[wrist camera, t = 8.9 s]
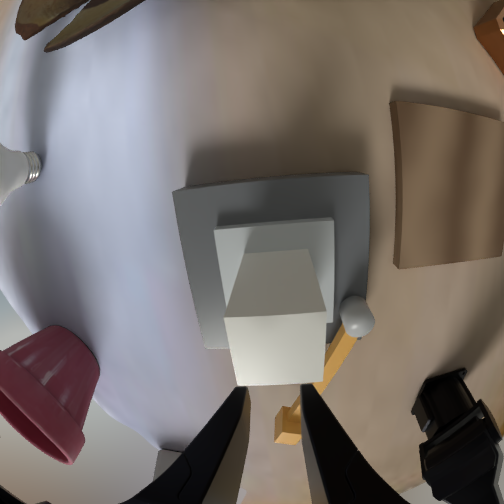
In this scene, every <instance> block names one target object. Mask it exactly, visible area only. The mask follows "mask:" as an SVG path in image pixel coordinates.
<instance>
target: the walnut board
mask: <svg viewBox="0 0 504 504" xmlns="http://www.w3.org/2000/svg"><path fill="white" fill-rule="evenodd" d="M389 105H390V112H391V120H392V130H393V141H394V155H395V176H396V223H395V244H394V258H393V264H394V265H395V266H396V267H397V268H398V269H407V268H415V267H424V266H432V265H441V264H449V263H456V262H464V261H471V260H479V259H486V258H492V257H499V256H501V255H502V250H503V244H504V122H502V121H498V120H495V119H491V118H488V117H484V116H480V115H476V114H472V113H468V112H464V111H459V110H454V109H449V108H444V107H438V106H432V105H426V104H419V103H411V102H403V101H394V102H392V103H389Z"/></svg>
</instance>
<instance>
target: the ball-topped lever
mask: <svg viewBox="0 0 504 504" xmlns="http://www.w3.org/2000/svg"><path fill="white" fill-rule="evenodd" d="M339 313H340V316H341V319H342V322H343V323H342V325H341V327H340V329H339V330H338V332H337V334H336V336H335V338H334V339H333V341H332V343H331V345H330V346H329V348H328V350H327V352H326V353H325V360H324V374H323V382H312V383H311V384H313V385H314V387H315V388H316V390H317V391H318V393H319V394H320V395H321V393H322V392H323V391H324V389H325V388H326V386H327V385H328V383H329V382H330V381H331V379H332V378H333V376H334V375H335V373H336V372H337V370H338V369H339V367H340V366H341V364H342V363H343V361H344V360H345V358H346V356H347V355H348V353H349V352H350V350H351V348H352V347H353V345H354V343H355V342H356V340H357V338H358V337H362V336H364V335H366V334H368V333H369V332H370V331H371V330H372V328H373V327H374V324H375V319H374V316H373V315H372V313H371V311H370V309H369V307H368V305H367V303H366V301H365V300H364V299H363V298H362V297H360V296H350V297H348V298H346V299H345V300H344V301H343V302H342V303H341V305H340V307H339ZM307 384H309V383H307ZM301 438H302V437H301V411H300V395H299V396H298V398H297V399H296V401H295V402H294V404H293V405H292V407H285V406H282V408H281V409H280V411H279V412H278V414H277V415H276V417H275V435H274V442H276V443H283V444H291V445H296V444H297V443H298V442H299V440H300V439H301Z"/></svg>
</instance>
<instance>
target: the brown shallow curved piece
mask: <svg viewBox="0 0 504 504" xmlns="http://www.w3.org/2000/svg"><path fill="white" fill-rule="evenodd" d="M87 1H89V0H22V2H21V5H20V7H19V10H18V14H17V18H16V23H15V31H16V33H17V34H19V35H21V37H22V39H23V40H27V39H29V38H30V37H32V36H34V35H35V34H37V33H38V32H40V31H42V30H43V29H44V28H45V27H47V26H49V25H50V24H52V23H54V22H56V21H57V20H58V19H60V18H62V17H65V15H67V14H68V13H70V12H71V11H73V10H74V9H77V8H79V7H80V6H81V5H82V4H84V3H86V2H87ZM143 1H145V0H91V1H90V2H89V3H87V5H86V6H84V8H83V9H82V10H81V12H80V13H78V14H77V15H76V16H75V18H74V19H73V21H72V22H71V23H70V24H68V25H67V26H66V27H65V28H64V29H63V30H62V31H61V32H60V33H59V34H58V35H57V36H56V37H55V38H54V39H53V40H51V41H50V42H48V44H47V45H46V47H45V48H44V52H46V53H47V52H52V51H55V50H58V49H60V48H63V47H66V46H68V45H70V44H72V43H74V42H76V41H77V40H79V39H82V38H83V37H85V36H87V35H89V34H91V33H93V32H94V31H96V30H98V29H100V28H102V27H103V26H105V25H107V24H109V23H110V22H112V21H113V20H115V19H117V18H118V17H120V16H121V15H123V14H125V13H126V12H128V11H129V10H131V9H132V8H134V7H135V6H137V5H138V4H140V3H142V2H143Z"/></svg>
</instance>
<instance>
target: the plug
mask: <svg viewBox="0 0 504 504" xmlns="http://www.w3.org/2000/svg"><path fill="white" fill-rule="evenodd" d="M214 236H215V242H216V249H217V255H218V261H219V267H220V273H221V279H222V285H223V291H224V296H225V302H226V312H225V315H224V322H225V327H226V332H227V337H228V342H229V347H230V352H231V357H232V361H233V366H234V371H235V375H236V380H237V384H238V385H283V384H299V383H312V382H323V374H324V360H325V343H326V323H332V322H333V308H334V220H333V219H332V218H331V217H329V218H314V219H300V220H286V221H274V222H261V223H250V224H239V225H228V226H217V227H216V228H215V229H214Z"/></svg>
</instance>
